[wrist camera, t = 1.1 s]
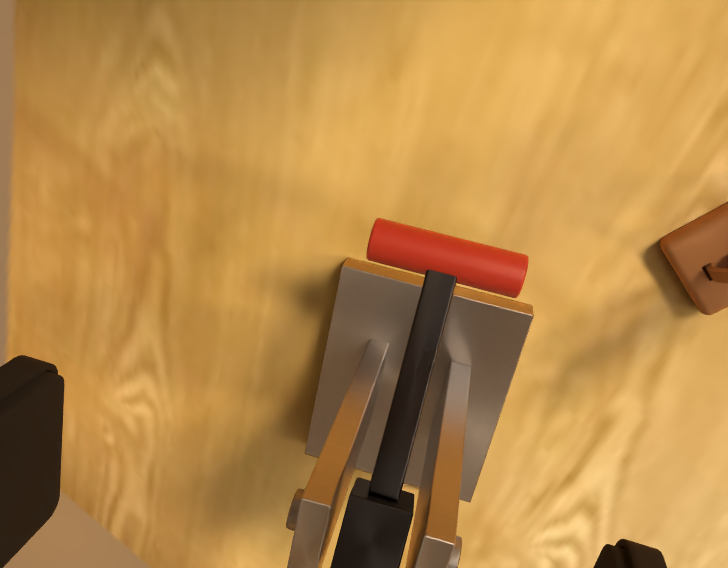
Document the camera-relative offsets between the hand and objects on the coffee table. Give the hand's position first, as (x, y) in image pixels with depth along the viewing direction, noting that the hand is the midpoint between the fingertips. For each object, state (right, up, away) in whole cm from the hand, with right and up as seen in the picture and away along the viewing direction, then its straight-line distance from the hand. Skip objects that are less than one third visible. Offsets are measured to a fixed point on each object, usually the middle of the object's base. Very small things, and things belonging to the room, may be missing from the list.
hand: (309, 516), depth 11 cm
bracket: (+3, -1, +22) cm, 22 cm away
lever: (+3, 0, +13) cm, 13 cm away
